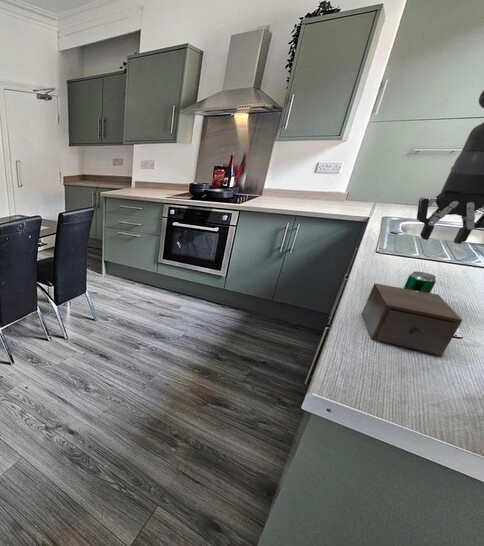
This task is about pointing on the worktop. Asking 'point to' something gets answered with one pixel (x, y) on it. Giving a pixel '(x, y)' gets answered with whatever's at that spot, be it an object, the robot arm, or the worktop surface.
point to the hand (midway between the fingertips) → (440, 240)
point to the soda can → (420, 282)
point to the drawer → (416, 331)
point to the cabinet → (404, 307)
